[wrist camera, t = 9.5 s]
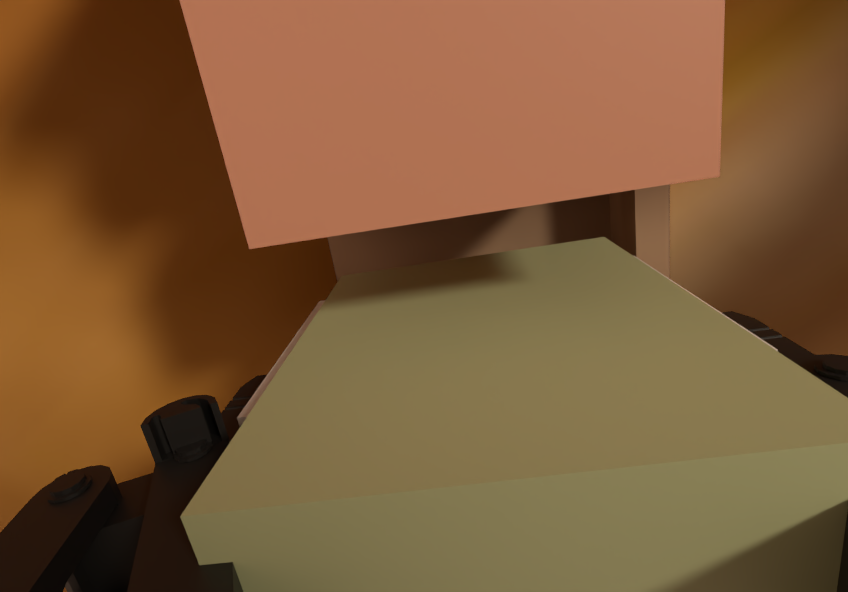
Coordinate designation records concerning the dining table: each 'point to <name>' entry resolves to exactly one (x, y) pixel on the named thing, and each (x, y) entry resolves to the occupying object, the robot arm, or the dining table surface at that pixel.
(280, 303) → the dining table surface
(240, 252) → the dining table surface
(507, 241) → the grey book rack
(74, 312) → the dining table surface
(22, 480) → the dining table surface
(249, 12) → the rust book
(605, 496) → the olive book
